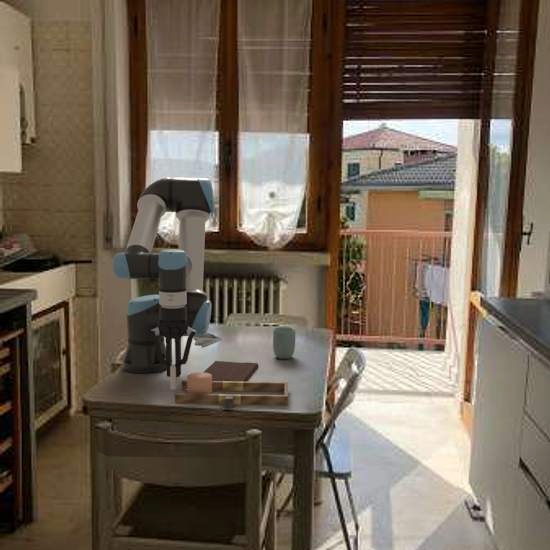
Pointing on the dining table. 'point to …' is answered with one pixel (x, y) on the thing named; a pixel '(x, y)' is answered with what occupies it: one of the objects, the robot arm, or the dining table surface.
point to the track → (237, 398)
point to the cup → (283, 342)
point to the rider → (199, 383)
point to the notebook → (231, 371)
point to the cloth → (206, 340)
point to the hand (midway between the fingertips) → (174, 387)
